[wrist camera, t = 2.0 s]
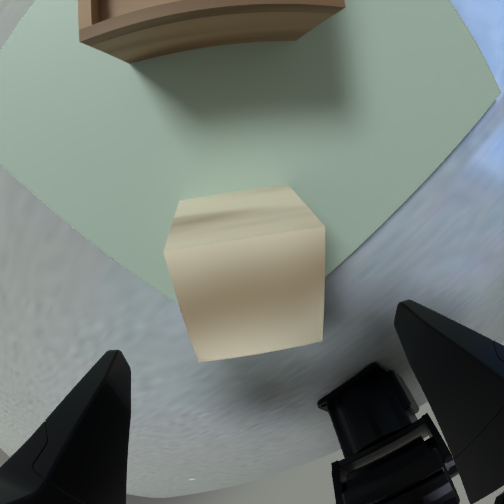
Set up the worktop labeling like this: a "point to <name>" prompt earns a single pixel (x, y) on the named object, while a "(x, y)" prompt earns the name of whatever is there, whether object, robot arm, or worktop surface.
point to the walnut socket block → (194, 24)
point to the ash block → (248, 272)
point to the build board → (238, 122)
